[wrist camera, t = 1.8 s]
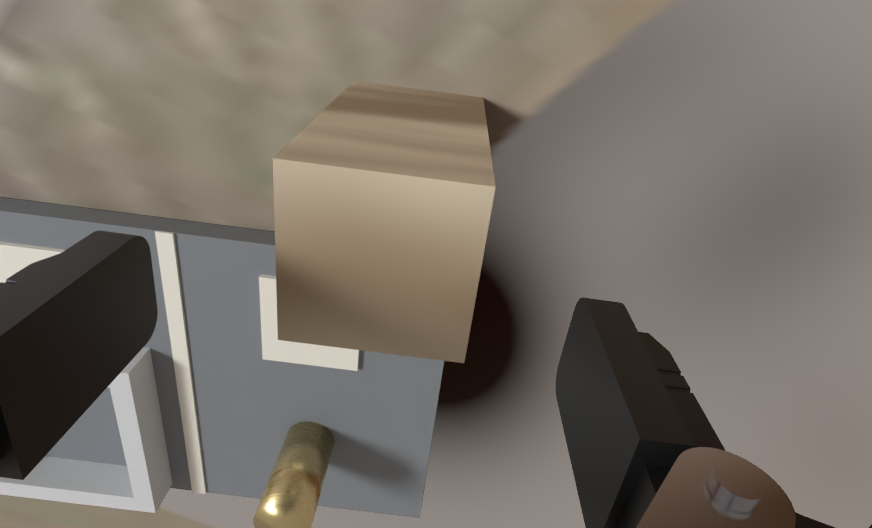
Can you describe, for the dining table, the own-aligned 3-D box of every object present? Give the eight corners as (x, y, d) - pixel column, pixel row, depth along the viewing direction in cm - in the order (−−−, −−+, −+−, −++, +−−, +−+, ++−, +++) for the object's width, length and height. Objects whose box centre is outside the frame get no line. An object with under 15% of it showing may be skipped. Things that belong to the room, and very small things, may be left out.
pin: (286, 418, 22) (252, 503, 19) (335, 424, 22) (310, 509, 19) (287, 453, 23) (254, 539, 19) (333, 459, 23) (310, 546, 20)
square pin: (354, 81, 17) (272, 158, 10) (483, 98, 17) (495, 186, 10) (349, 201, 19) (277, 340, 12) (464, 216, 19) (464, 363, 12)
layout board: (-105, 183, 19) (-180, 211, 17) (459, 255, 19) (457, 291, 17) (-6, 447, 25) (-51, 492, 23) (421, 499, 25) (417, 548, 23)
